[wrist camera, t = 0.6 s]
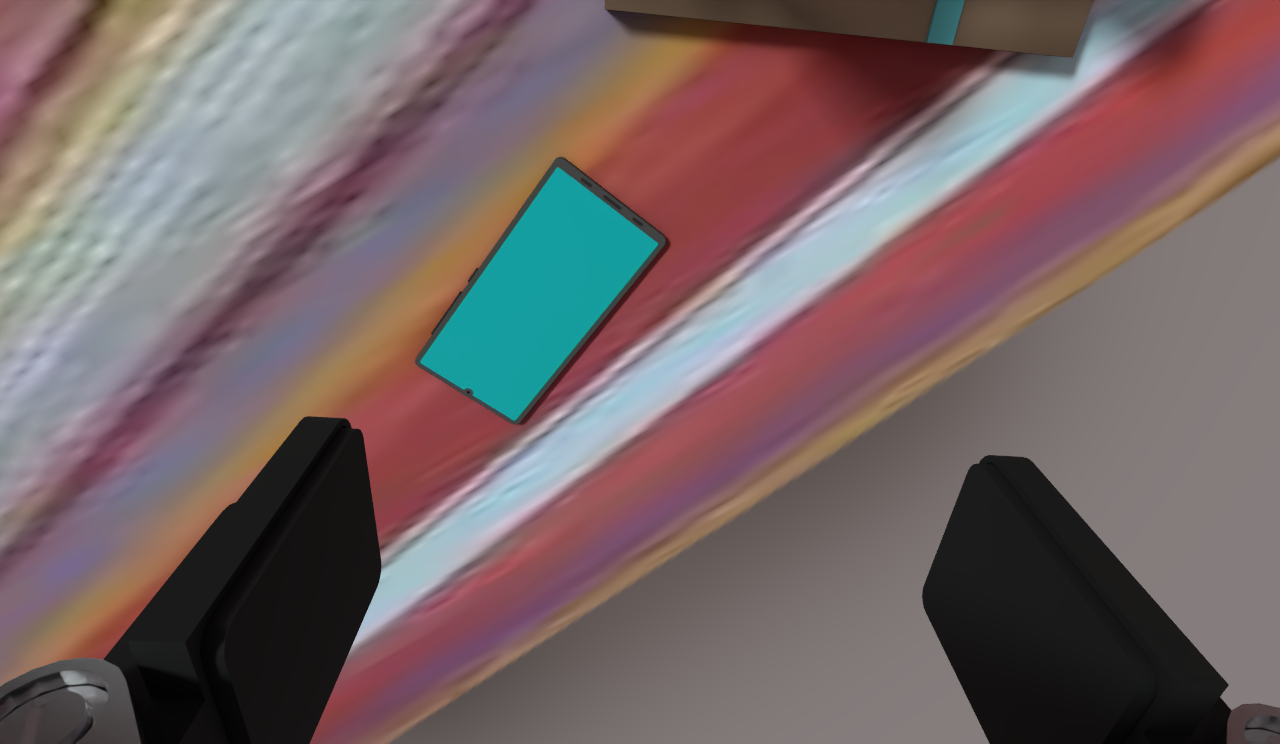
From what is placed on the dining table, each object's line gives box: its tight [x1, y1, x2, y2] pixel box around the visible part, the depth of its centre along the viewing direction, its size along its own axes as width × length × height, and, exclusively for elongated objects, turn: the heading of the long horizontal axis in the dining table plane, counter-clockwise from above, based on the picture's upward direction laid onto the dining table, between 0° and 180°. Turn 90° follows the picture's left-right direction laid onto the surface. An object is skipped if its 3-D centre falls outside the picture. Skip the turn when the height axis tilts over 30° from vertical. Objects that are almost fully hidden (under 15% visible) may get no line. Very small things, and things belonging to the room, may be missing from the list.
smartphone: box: [415, 157, 666, 424], centre depth 38 cm, size 7×1×15 cm
